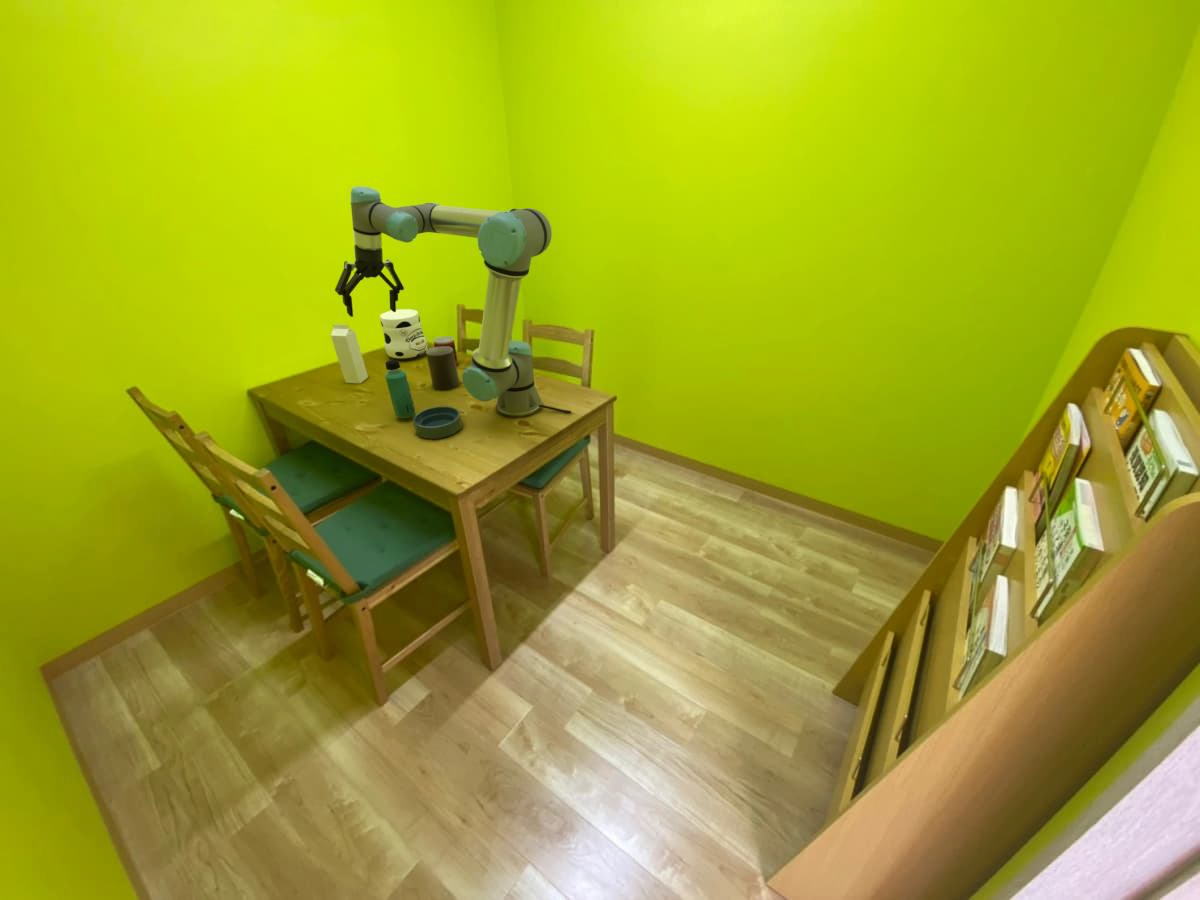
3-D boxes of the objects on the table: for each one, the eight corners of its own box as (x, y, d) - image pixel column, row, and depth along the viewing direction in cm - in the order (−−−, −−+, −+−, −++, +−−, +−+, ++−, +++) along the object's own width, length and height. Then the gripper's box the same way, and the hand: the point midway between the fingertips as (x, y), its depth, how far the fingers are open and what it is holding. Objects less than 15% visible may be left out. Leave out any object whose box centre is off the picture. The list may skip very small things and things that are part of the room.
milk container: (428, 360, 202) (419, 318, 193) (385, 364, 199) (373, 322, 189) (430, 346, 217) (422, 307, 207) (390, 350, 213) (380, 310, 204)
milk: (360, 383, 183) (343, 327, 171) (345, 383, 183) (327, 327, 171) (368, 377, 188) (352, 322, 176) (354, 376, 189) (337, 321, 177)
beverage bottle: (410, 423, 156) (395, 365, 145) (392, 421, 157) (376, 364, 146) (420, 414, 161) (407, 358, 151) (402, 412, 162) (388, 356, 152)
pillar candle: (449, 392, 176) (441, 353, 168) (427, 388, 179) (419, 349, 171) (464, 381, 184) (458, 344, 176) (443, 378, 187) (436, 341, 179)
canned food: (440, 362, 201) (435, 336, 195) (459, 361, 202) (454, 335, 196) (436, 369, 195) (431, 343, 189) (456, 368, 195) (452, 342, 189)
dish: (466, 417, 159) (464, 405, 156) (456, 439, 147) (454, 427, 144) (423, 418, 159) (420, 406, 156) (410, 440, 147) (407, 428, 144)
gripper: (403, 240, 151) (404, 303, 164) (317, 241, 135) (326, 311, 148) (414, 249, 147) (414, 313, 160) (328, 251, 131) (335, 322, 144)
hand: (372, 312), depth 154 cm, fingers open, 13 cm apart
